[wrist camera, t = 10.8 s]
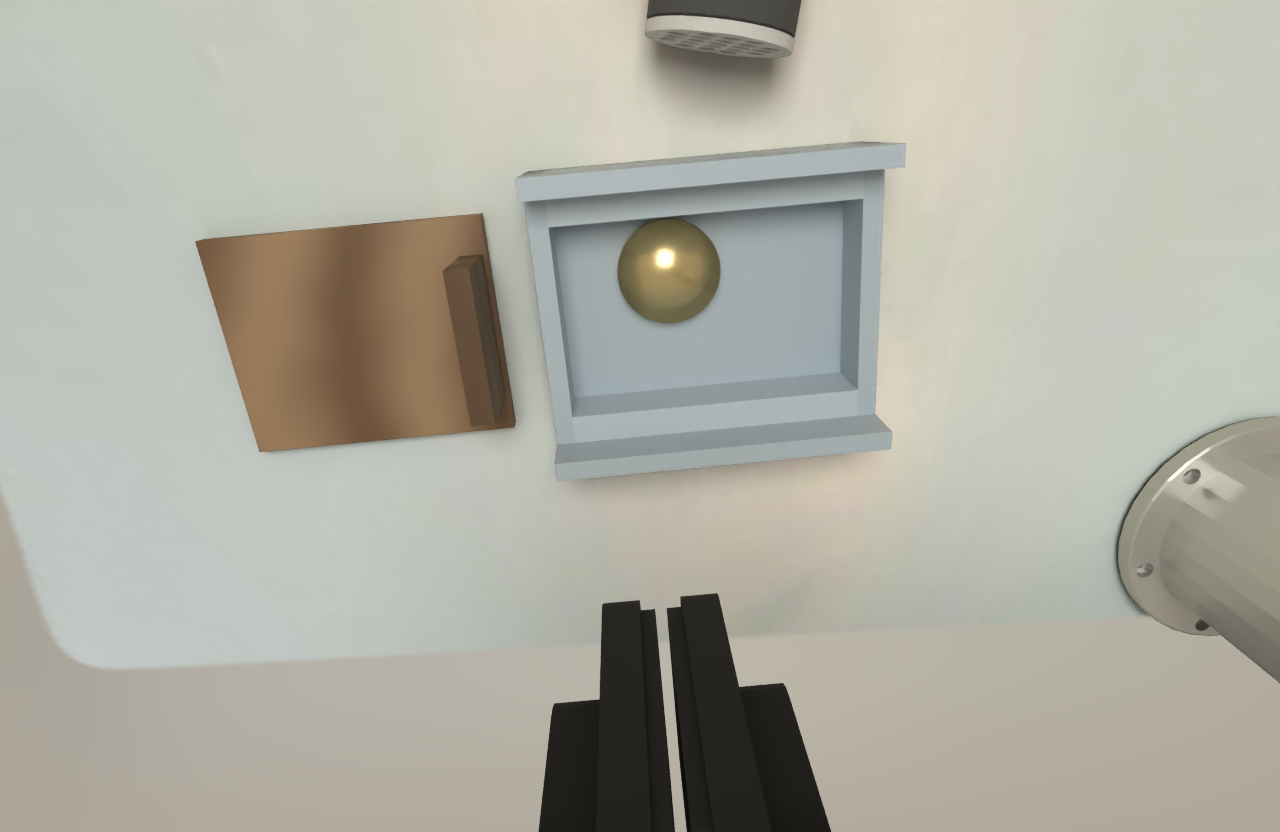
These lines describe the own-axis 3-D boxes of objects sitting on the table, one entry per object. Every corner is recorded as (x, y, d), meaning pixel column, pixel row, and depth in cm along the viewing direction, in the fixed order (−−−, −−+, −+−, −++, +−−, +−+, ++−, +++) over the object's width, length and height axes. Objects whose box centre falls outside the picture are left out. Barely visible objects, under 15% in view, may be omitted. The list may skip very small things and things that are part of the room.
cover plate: (484, 211, 31) (465, 225, 27) (516, 417, 35) (504, 459, 31) (209, 237, 31) (146, 255, 27) (270, 441, 35) (222, 486, 30)
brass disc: (715, 213, 31) (718, 215, 30) (719, 314, 33) (722, 318, 32) (612, 222, 31) (612, 224, 30) (622, 323, 32) (622, 327, 32)
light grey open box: (859, 141, 31) (906, 143, 26) (852, 406, 35) (891, 449, 30) (528, 171, 30) (514, 178, 26) (562, 434, 35) (557, 481, 30)
